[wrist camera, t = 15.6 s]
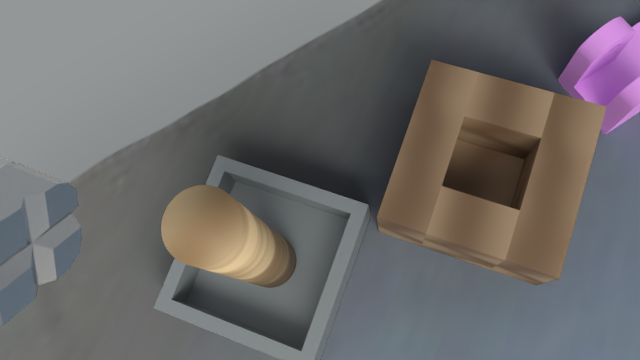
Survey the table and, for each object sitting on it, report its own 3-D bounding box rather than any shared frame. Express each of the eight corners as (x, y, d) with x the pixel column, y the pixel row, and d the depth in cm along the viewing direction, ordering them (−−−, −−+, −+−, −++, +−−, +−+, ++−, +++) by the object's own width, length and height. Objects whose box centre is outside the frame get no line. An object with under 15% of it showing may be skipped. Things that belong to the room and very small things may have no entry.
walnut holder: (578, 136, 43) (606, 106, 37) (536, 285, 40) (559, 278, 35) (426, 93, 45) (431, 59, 40) (379, 231, 43) (376, 217, 37)
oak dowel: (304, 245, 42) (253, 199, 27) (285, 295, 42) (221, 278, 26) (256, 227, 43) (180, 174, 28) (237, 276, 42) (148, 249, 27)
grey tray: (371, 215, 43) (368, 204, 40) (317, 367, 41) (309, 371, 37) (232, 169, 46) (217, 154, 42) (174, 309, 43) (153, 308, 40)
